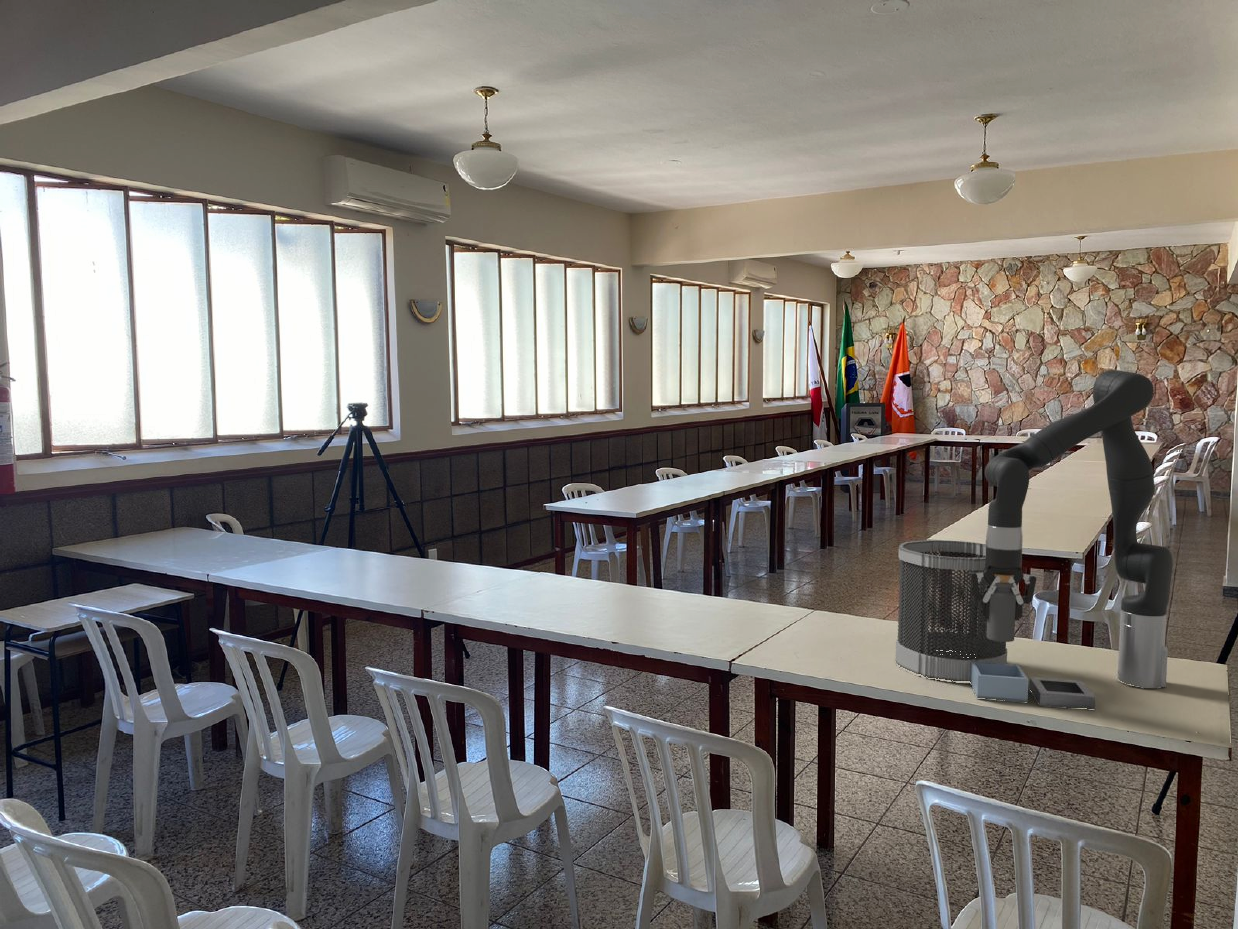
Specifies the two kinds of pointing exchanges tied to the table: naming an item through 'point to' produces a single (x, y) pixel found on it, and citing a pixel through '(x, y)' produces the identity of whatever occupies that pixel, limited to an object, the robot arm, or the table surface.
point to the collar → (1062, 693)
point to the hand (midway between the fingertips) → (1001, 618)
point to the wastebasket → (913, 620)
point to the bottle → (1002, 611)
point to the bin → (999, 681)
